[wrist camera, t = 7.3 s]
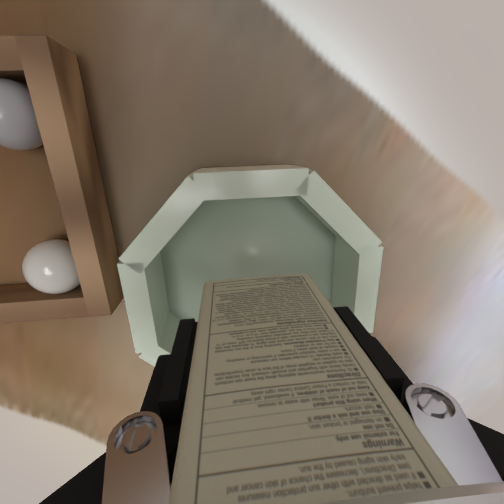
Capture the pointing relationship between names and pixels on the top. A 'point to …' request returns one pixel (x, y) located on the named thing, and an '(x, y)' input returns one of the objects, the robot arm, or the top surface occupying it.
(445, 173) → the top surface
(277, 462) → the box
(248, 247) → the bowl
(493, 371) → the top surface
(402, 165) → the top surface
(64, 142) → the tray
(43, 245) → the white ball
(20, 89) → the pebble
